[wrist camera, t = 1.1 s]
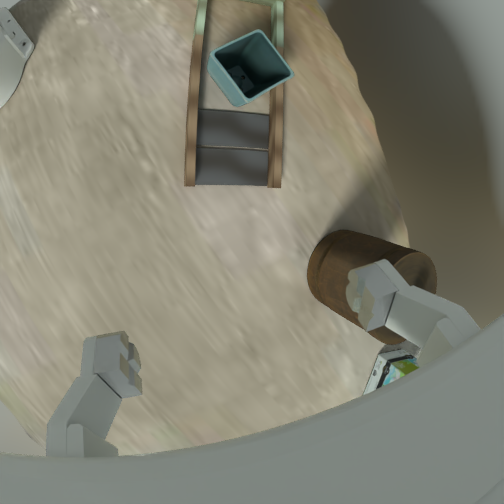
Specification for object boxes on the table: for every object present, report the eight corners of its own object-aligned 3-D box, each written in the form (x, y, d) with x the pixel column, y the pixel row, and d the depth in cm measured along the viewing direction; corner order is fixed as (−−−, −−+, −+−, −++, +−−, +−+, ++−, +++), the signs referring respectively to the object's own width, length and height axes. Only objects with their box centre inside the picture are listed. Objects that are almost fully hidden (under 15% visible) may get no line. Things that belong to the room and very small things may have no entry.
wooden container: (333, 318, 58) (410, 372, 38) (291, 271, 53) (375, 321, 33) (379, 265, 60) (463, 298, 40) (345, 213, 54) (441, 232, 34)
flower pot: (240, 50, 41) (260, 27, 33) (270, 91, 45) (296, 75, 36) (196, 74, 40) (208, 52, 32) (228, 117, 43) (247, 104, 35)
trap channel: (274, 187, 48) (285, 188, 45) (184, 186, 43) (187, 186, 40) (277, 3, 41) (286, -7, 37) (199, -10, 36) (204, -23, 32)
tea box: (376, 353, 66) (418, 382, 53) (402, 348, 70) (441, 373, 56) (358, 402, 69) (393, 433, 55) (384, 394, 72) (418, 422, 59)
